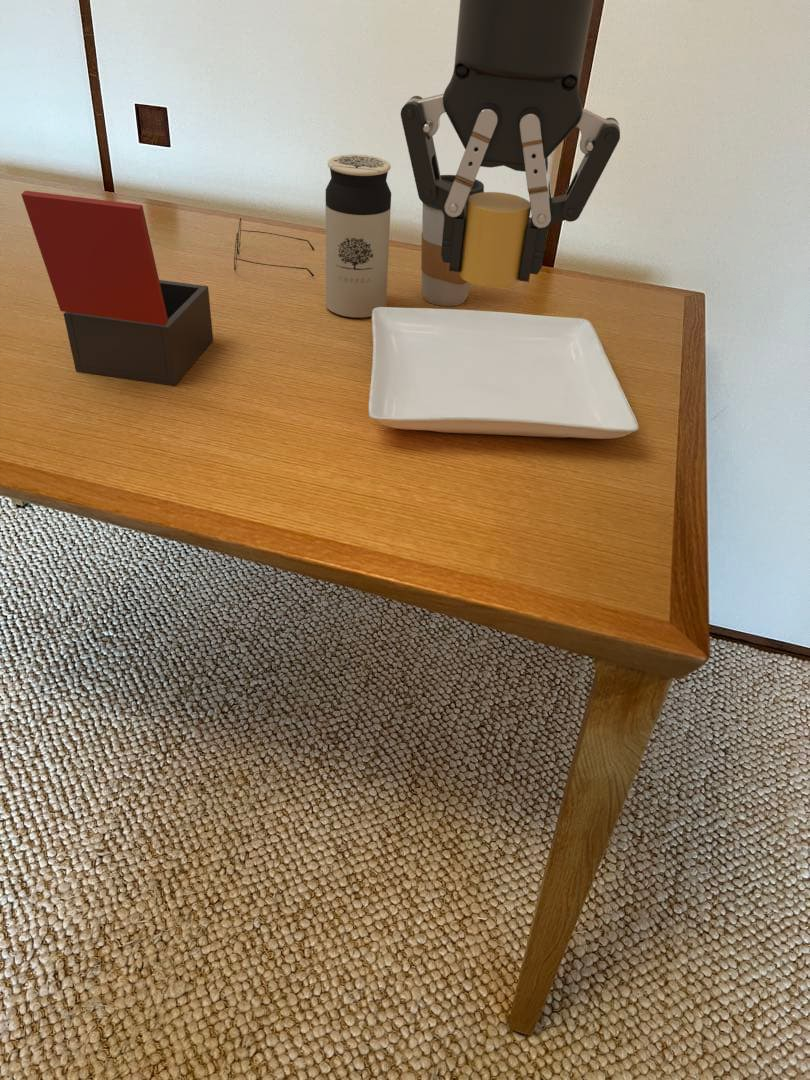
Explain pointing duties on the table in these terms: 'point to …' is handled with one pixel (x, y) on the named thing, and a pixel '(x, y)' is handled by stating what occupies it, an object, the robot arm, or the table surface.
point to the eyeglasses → (260, 263)
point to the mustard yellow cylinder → (494, 239)
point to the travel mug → (357, 235)
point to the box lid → (97, 256)
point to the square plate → (494, 375)
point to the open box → (145, 339)
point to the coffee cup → (435, 272)
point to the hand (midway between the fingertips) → (490, 271)
